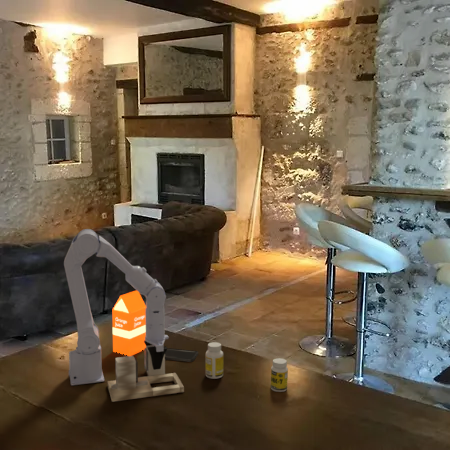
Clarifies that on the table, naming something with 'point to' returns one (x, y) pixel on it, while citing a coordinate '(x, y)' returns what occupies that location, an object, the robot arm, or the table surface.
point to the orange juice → (129, 324)
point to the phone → (180, 355)
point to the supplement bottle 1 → (214, 361)
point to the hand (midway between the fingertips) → (155, 366)
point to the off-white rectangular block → (148, 363)
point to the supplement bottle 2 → (279, 375)
